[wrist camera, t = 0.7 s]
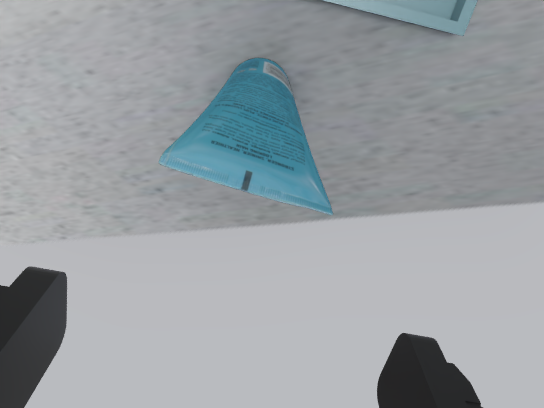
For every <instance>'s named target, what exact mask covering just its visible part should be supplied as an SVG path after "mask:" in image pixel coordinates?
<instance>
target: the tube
mask: <svg viewBox="0 0 544 408" xmlns="http://www.w3.org/2000/svg"><path fill="white" fill-rule="evenodd" d="M159 164H160V165H163V166H165V167H168V168H171V169H174V170H177V171H180V172H183V173H186V174H189V175H193V176H196V177H199V178H202V179H205V180H209V181H212V182H214V183H218V184H221V185H225V186H228V187H231V188H234V189H238V190H242V191H245V192H248V193H251V194H254V195H258V196H262V197H264V198H268V199H272V200H275V201H278V202H282V203H287V204H291V205H295V206H300V207H305V208H309V209H312V210H315V211H318V212H322V213H325V214H328V215H333V212H332V208H331V205H330V202H329V200H328V197H327V195H326V192H325V190H324V187H323V184H322V182H321V179H320V176H319V174H318V171H317V168H316V165H315V163H314V160H313V157H312V154H311V151H310V148H309V145H308V142H307V139H306V136H305V133H304V130H303V127H302V124H301V120H300V117H299V114H298V111H297V108H296V104H295V101H294V98H293V94H292V91H291V87H290V84H289V81H288V78H287V76H286V74H285V72H284V71H283V69H282V68H281V67H280V66H279V65H277V64H276V63H275V62H273V61H271V60H268V59H264V58H254V59H250V60H247V61H245V62H243V63H242V64H240V65H239V66H238V67H237V68H236V69H235V71H234V72H233V73H232V75H231V76H230V78H229V79H228V81H227V82H226V84H225V85H224V87H223V88H222V89H221V91H220V92H219V93H218V95H217V96H216V97H215V99H214V100H213V101H212V102H211V104H210V105H209V106H208V107H207V108H206V110H205V111H204V112H203V113H202V114H201V115H200V116H199V118H198V119H197V120H196V121H195V122H194V123H193V124H192V125H191V126H190V127H189V128H188V129H187V130H186V131H185V132H184V133H183V134H182V135H181V136H180V137H179V138H178V139H177V140H176V141H175V142H174V143H173V144H172V145H171V146H170V147H168V148H167V149H166V150H165V151H164V153H163V154H162V156H161V158H160V160H159Z"/></svg>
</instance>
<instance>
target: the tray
mask: <svg viewBox="0 0 544 408" xmlns="http://www.w3.org/2000/svg"><path fill="white" fill-rule="evenodd" d="M323 1H327V2H331V3H335V4H339V5H342V6H346V7H350V8H354V9H358V10H362V11H366V12H370V13H374V14H378V15H382V16H386V17H390V18H393V19H397V20H401V21H405V22H409V23H413V24H417V25H421V26H425V27H429V28H433V29H437V30H441V31H445V32H448V33H452V34H457V35H461V36H464V33H465V31H466V28H467V26H468V23H469V21H470V18H471V16H472V13H473V11H474V8H475V6H476V3H477V1H478V0H323Z"/></svg>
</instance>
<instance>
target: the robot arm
mask: <svg viewBox="0 0 544 408" xmlns="http://www.w3.org/2000/svg"><path fill="white" fill-rule="evenodd" d="M66 311H67V277H66V274H65V273H64V272H59V271H54V270H48V269H43V268H37V267H27V268H26V269H25V270H24V271H23V272H22V273H21V274H20V275H19V277H18V278H17V279H16V280H15V281H14V282H13V283H12V284H11V285H10V287H7V286H1V285H0V408H24V407H25V405H26V404H27V402H28V400H29V398H30V397H31V395H32V393H33V392H34V390H35V388H36V387H37V385H38V383H39V382H40V380H41V378H42V377H43V375H44V373H45V372H46V370H47V368H48V367H49V365H50V363H51V361H52V360H53V358H54V356H55V355H56V353H57V351H58V349H59V347H60V345H61V343H62V340H63V337H64V334H65V329H66V314H67V313H66ZM377 398H378V404H379V408H483V407H481V406H480V405H481V403H480V401H479V399H478V397H477V395H476V393H475V391H474V389H473V387H472V385H471V383H470V382H469V381H468V380H467V378H466V377H465V376H464V375H463V374H462V373H461V372H460V371H459V369H458V368H457V367H456V366H455V365H454V364H453V363H447V362H446V360H445V358H444V355H443V353H442V351H441V349H440V347H439V345H438V343H437V341H436V340H435V339H433V338H429V337H424V336H418V335H412V334H406V333H402V334H401V335H400V336H399V337H398V338H397V340H396V343H395V344H394V347H393V349H392V351H391V353H390V355H389V357H388V359H387V361H386V364H385V366H384V368H383V370H382V372H381V374H380V377H379V381H378V386H377Z"/></svg>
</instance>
